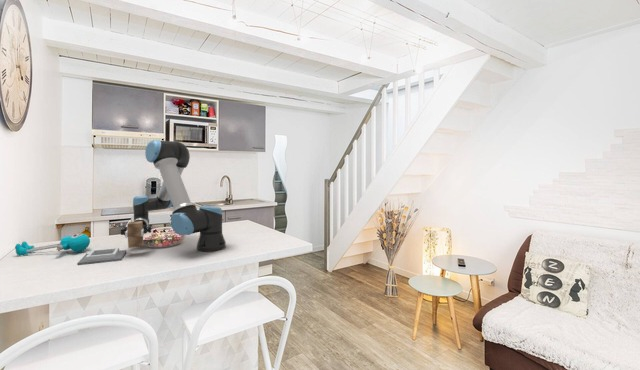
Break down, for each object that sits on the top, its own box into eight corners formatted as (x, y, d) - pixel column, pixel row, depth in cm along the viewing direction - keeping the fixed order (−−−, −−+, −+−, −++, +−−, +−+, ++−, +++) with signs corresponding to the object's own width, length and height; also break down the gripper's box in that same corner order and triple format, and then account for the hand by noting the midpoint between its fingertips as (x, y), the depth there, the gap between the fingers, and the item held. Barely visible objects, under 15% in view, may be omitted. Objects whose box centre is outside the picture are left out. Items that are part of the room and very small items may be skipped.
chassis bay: (126, 251, 160) (126, 246, 159) (121, 260, 146) (121, 254, 146) (86, 255, 152) (86, 249, 152) (77, 265, 139) (77, 258, 139)
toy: (33, 237, 163) (96, 227, 170) (37, 255, 164) (100, 244, 171) (1, 249, 142) (74, 237, 148) (6, 269, 143) (79, 256, 149)
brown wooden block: (143, 243, 159) (142, 221, 158) (142, 246, 153) (141, 223, 153) (130, 245, 156) (129, 222, 155) (128, 248, 151) (127, 224, 150)
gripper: (158, 230, 175) (156, 239, 154) (119, 233, 167) (111, 244, 146) (158, 217, 174) (155, 225, 153) (119, 220, 166) (110, 228, 145)
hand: (134, 234), depth 150 cm, fingers closed on brown wooden block, 6 cm apart
